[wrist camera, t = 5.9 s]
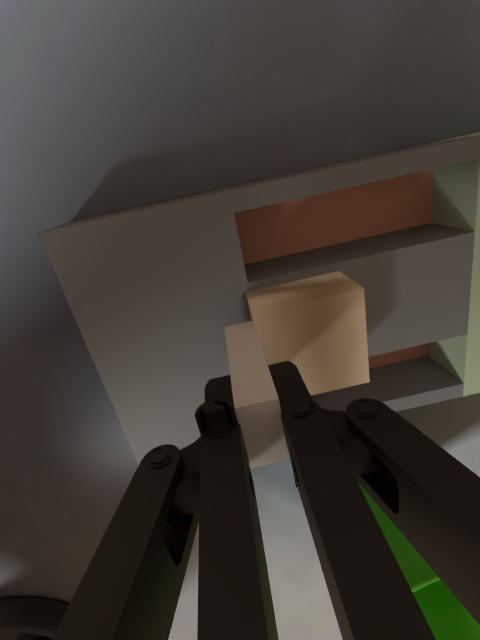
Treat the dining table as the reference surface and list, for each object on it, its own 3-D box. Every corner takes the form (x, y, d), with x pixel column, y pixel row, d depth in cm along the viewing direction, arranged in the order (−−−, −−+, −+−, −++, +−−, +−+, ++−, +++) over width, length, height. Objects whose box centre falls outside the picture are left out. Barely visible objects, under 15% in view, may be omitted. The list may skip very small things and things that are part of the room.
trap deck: (149, 427, 25) (135, 490, 20) (69, 222, 19) (21, 238, 14) (517, 344, 26) (593, 385, 21) (548, 116, 20) (667, 95, 15)
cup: (342, 414, 27) (427, 559, 17) (438, 437, 29) (566, 580, 18) (297, 496, 30) (345, 662, 20) (386, 513, 32) (472, 671, 21)
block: (262, 372, 20) (271, 404, 17) (245, 292, 18) (252, 313, 15) (346, 353, 20) (369, 382, 17) (339, 270, 18) (363, 288, 15)
